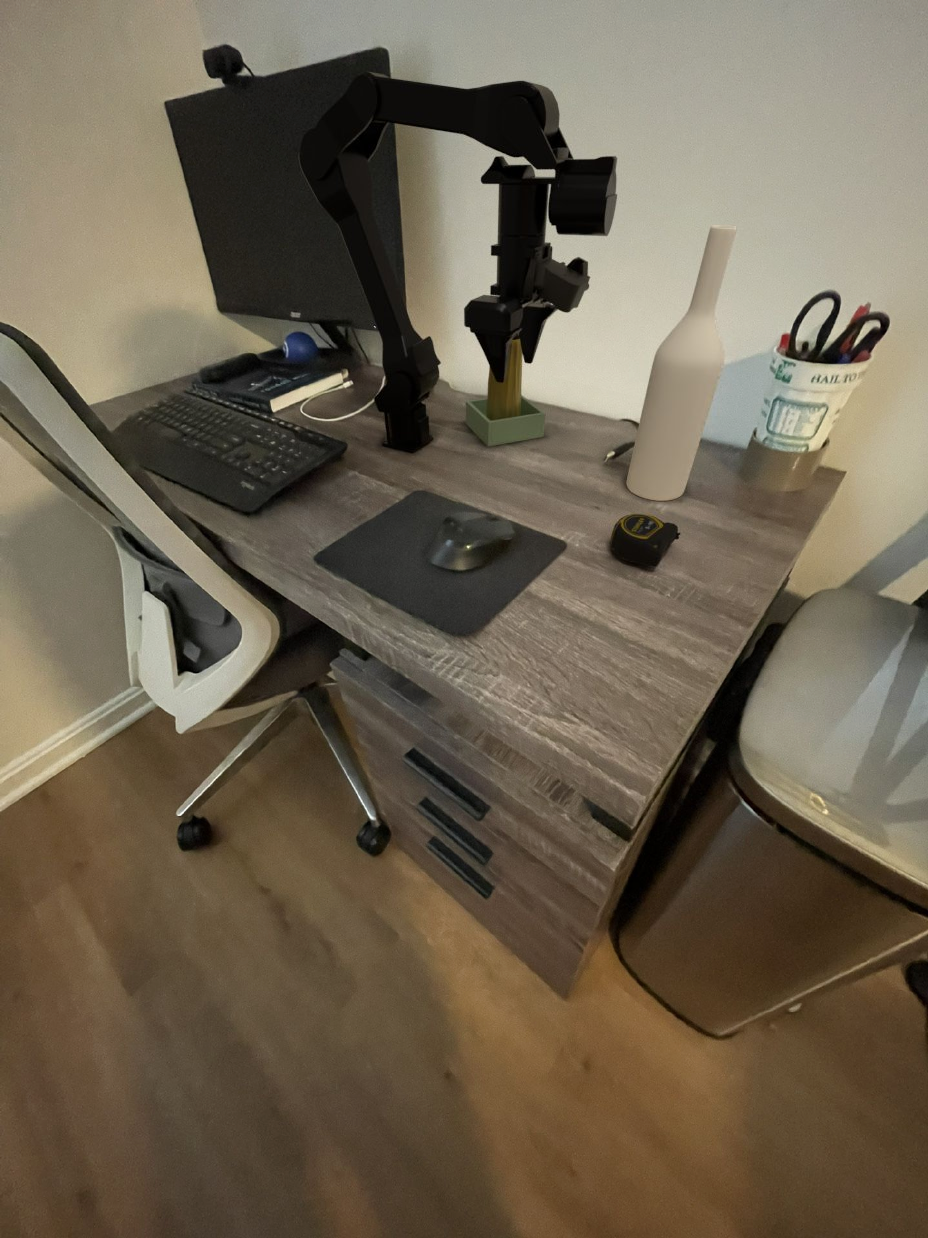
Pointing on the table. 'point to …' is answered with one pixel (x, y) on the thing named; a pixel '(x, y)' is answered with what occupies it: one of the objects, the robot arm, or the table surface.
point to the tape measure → (643, 538)
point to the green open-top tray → (505, 423)
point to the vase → (506, 387)
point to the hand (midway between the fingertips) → (514, 372)
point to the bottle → (682, 384)
